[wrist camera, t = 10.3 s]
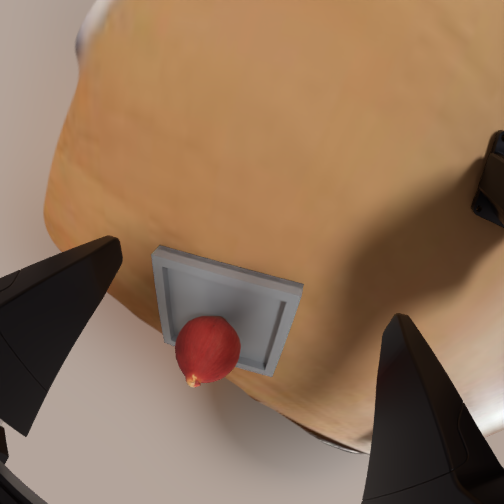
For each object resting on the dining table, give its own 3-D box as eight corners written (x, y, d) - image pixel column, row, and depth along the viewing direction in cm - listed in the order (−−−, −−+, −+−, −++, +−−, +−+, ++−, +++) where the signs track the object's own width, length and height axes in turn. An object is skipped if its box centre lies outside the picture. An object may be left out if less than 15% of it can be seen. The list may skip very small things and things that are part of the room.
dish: (303, 283, 23) (301, 296, 22) (274, 366, 31) (272, 377, 30) (159, 245, 25) (151, 254, 24) (169, 333, 33) (164, 342, 31)
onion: (233, 345, 29) (208, 409, 23) (186, 318, 29) (152, 379, 22) (261, 319, 26) (235, 393, 20) (206, 287, 25) (166, 356, 19)
